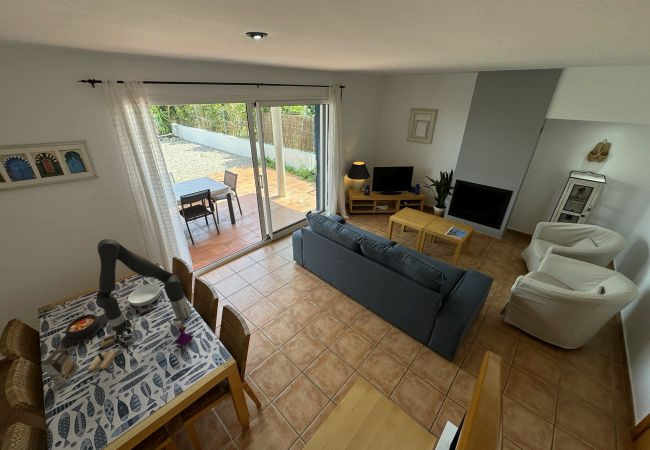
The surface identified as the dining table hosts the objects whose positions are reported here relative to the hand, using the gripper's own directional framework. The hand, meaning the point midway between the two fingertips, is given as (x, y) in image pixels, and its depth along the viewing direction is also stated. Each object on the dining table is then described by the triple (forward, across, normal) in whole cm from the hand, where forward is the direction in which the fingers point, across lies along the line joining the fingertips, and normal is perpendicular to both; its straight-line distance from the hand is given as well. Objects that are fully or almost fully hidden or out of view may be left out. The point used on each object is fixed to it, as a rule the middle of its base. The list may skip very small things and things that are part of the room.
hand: (126, 339), depth 163 cm
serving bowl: (+3, +38, +4) cm, 38 cm away
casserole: (+3, +13, +31) cm, 33 cm away
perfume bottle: (+2, -7, -36) cm, 37 cm away
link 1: (+2, +2, +11) cm, 11 cm away
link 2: (+2, 0, 0) cm, 2 cm away
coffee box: (+3, -18, +22) cm, 29 cm away
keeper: (+2, -12, +8) cm, 15 cm away
